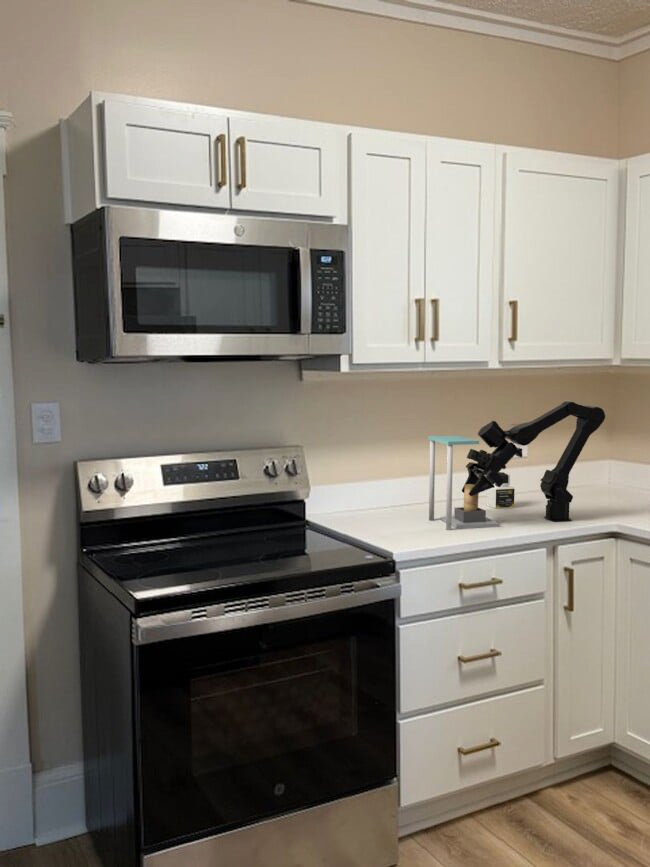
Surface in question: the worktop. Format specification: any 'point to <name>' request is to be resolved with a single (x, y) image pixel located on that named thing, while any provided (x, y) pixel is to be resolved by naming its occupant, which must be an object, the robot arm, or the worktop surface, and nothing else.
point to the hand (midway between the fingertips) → (466, 493)
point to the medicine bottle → (501, 494)
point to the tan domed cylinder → (470, 499)
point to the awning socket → (460, 517)
